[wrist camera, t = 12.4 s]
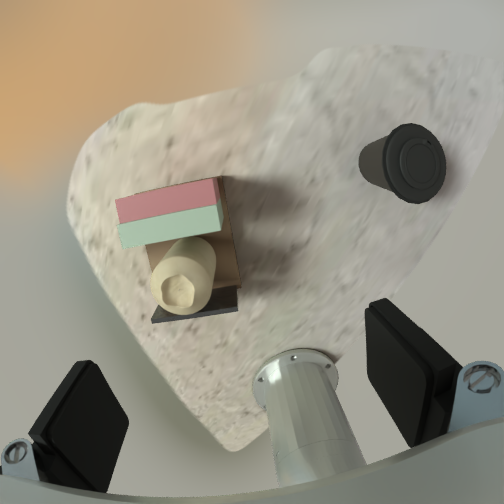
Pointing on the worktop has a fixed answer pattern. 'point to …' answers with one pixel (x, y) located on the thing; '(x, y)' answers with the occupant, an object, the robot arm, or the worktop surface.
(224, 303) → the bookend
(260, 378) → the robot arm
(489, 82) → the worktop surface
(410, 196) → the coffee cup
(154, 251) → the brown wooden board
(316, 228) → the worktop surface
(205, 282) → the candle
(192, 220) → the books
